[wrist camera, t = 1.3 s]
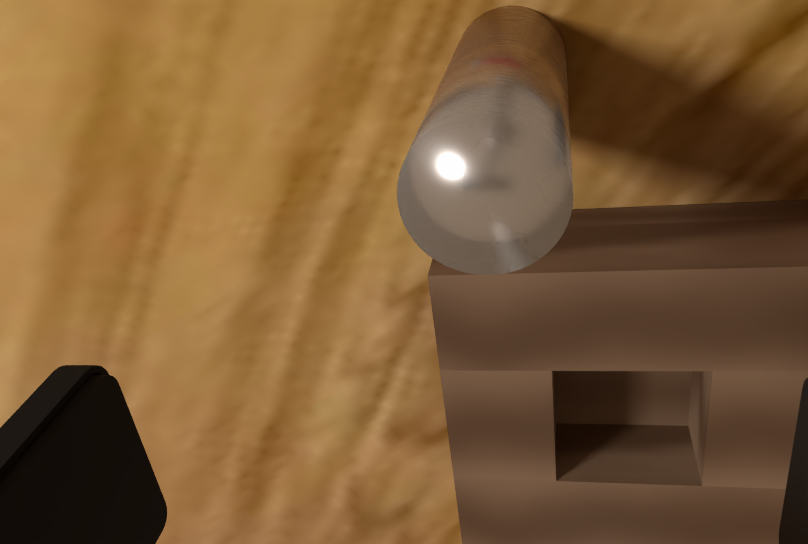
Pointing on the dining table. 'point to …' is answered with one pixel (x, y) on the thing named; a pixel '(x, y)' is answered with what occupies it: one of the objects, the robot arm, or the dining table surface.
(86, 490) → the robot arm
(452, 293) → the walnut socket block
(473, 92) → the steel peg
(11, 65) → the dining table surface
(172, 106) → the dining table surface
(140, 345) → the dining table surface
